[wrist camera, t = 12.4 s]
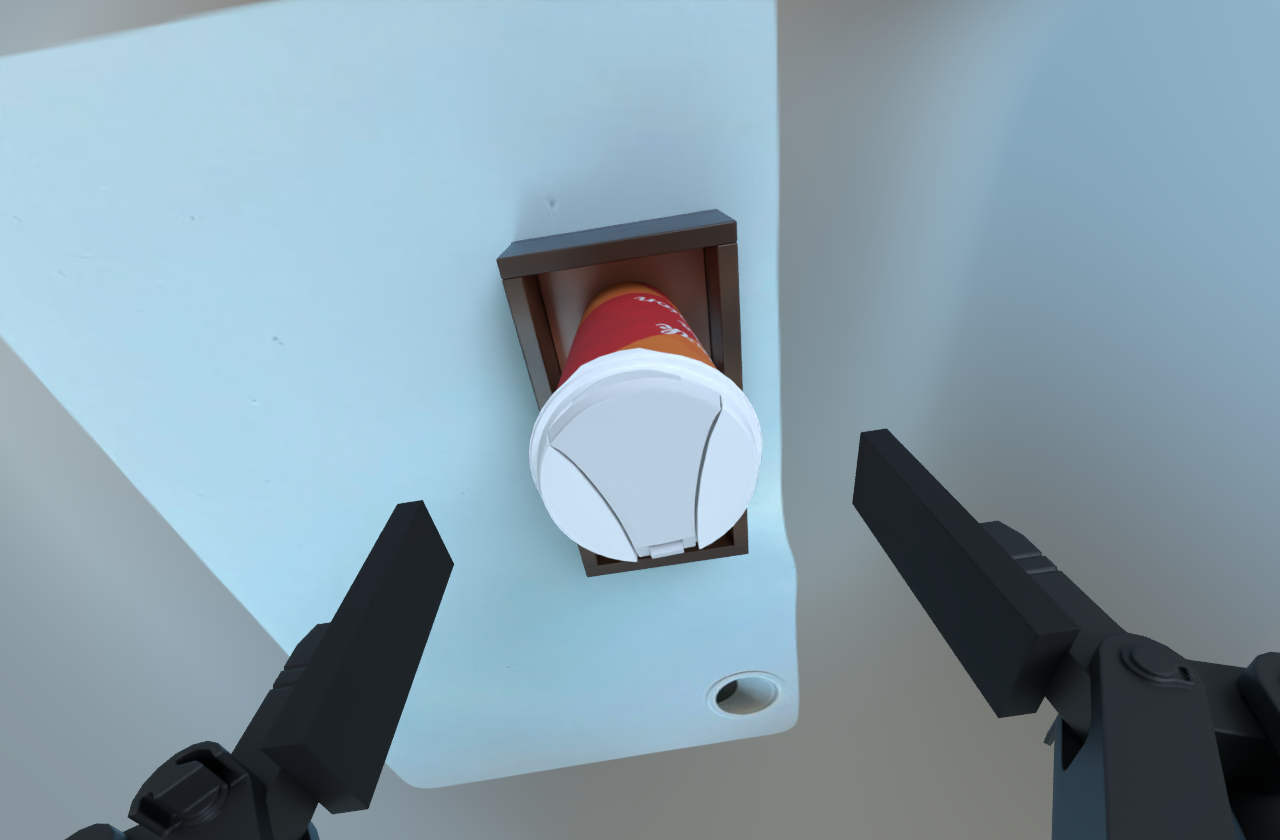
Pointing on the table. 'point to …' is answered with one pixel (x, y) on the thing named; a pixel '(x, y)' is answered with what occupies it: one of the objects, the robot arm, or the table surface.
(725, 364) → the cup holder
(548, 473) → the coffee cup
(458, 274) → the table surface
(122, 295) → the table surface
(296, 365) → the table surface
